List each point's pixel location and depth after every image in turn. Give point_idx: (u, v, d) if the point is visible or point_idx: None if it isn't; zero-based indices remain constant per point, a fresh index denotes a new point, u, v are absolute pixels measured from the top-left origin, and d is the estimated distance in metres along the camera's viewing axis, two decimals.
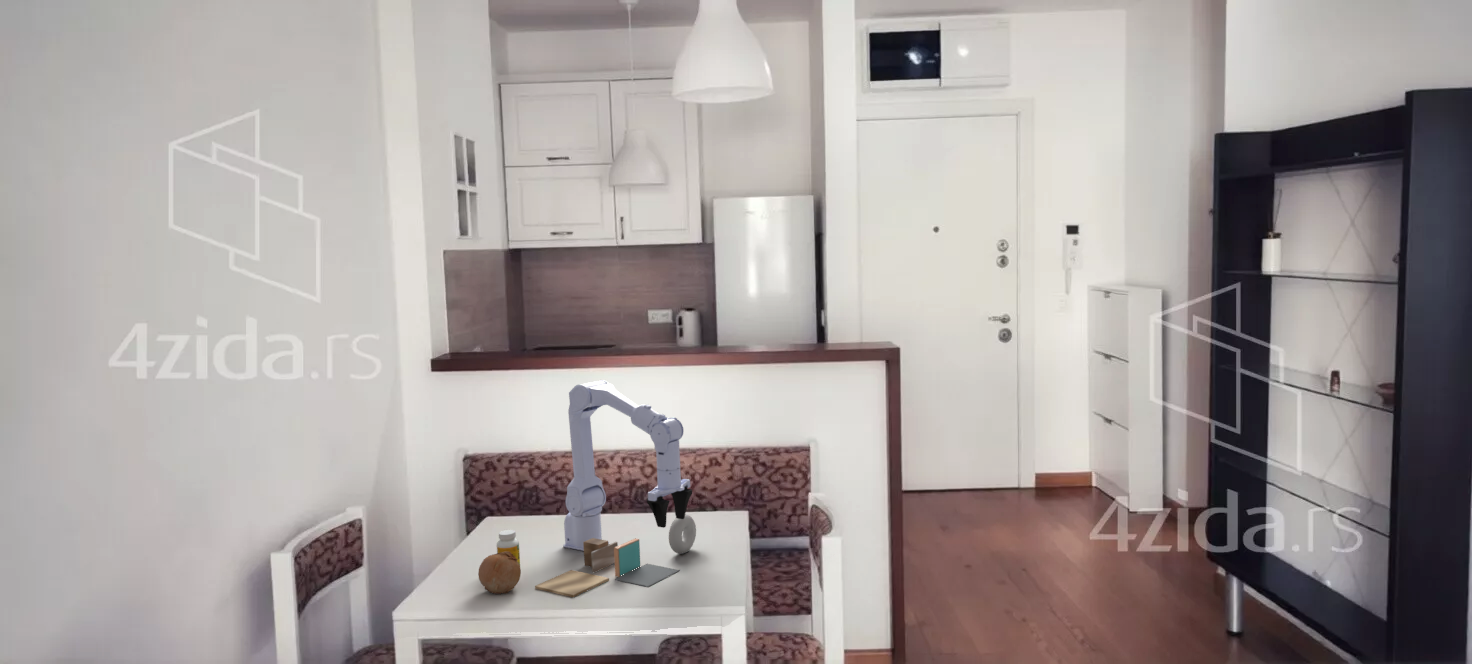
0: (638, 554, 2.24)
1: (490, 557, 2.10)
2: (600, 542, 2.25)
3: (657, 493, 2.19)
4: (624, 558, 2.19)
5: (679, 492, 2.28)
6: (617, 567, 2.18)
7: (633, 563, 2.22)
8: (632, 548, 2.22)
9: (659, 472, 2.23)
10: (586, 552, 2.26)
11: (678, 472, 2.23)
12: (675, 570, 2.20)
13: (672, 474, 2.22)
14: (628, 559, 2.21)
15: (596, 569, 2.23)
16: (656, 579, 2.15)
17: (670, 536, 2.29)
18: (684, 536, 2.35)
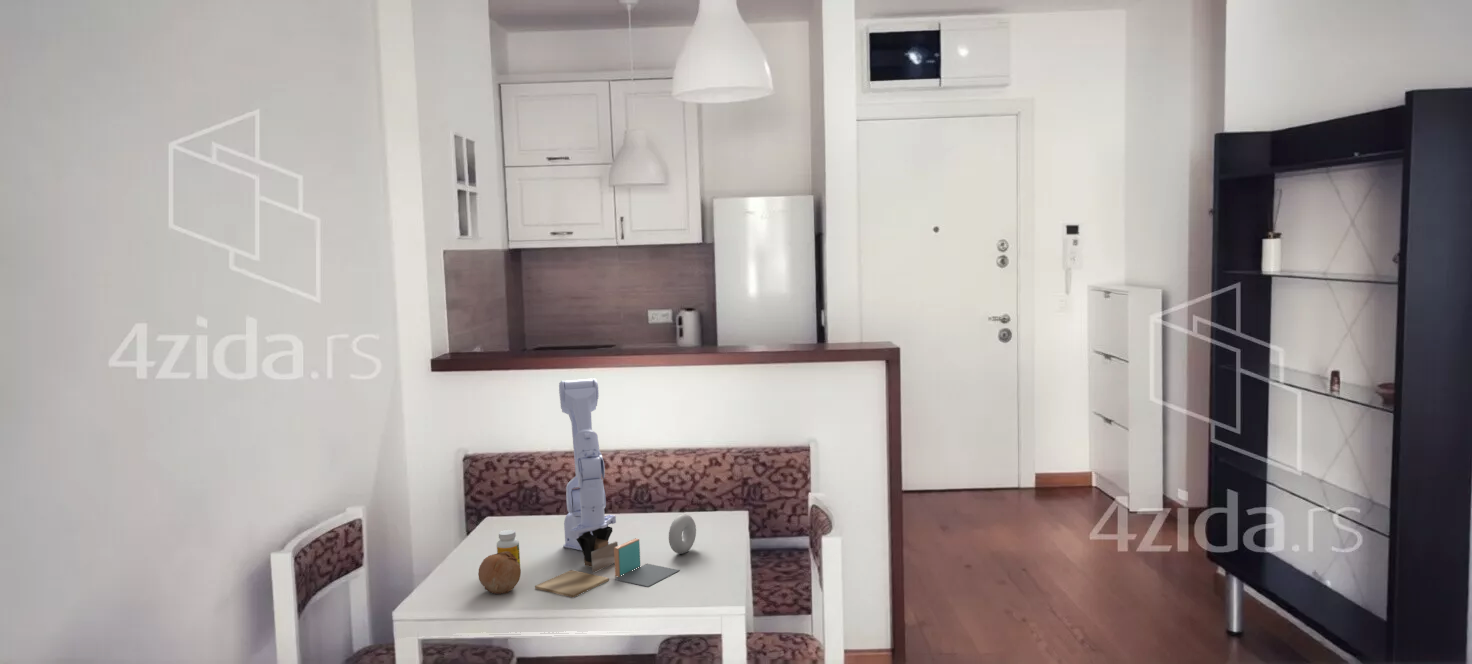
0: (638, 554, 2.24)
1: (490, 557, 2.10)
2: (600, 542, 2.25)
3: (579, 531, 2.21)
4: (624, 558, 2.19)
5: (599, 530, 2.28)
6: (617, 567, 2.18)
7: (633, 563, 2.22)
8: (632, 548, 2.22)
9: (582, 509, 2.24)
10: None
11: (601, 509, 2.25)
12: (675, 570, 2.20)
13: (594, 511, 2.24)
14: (628, 559, 2.21)
15: (596, 569, 2.22)
16: (656, 579, 2.15)
17: (670, 536, 2.29)
18: (684, 536, 2.35)
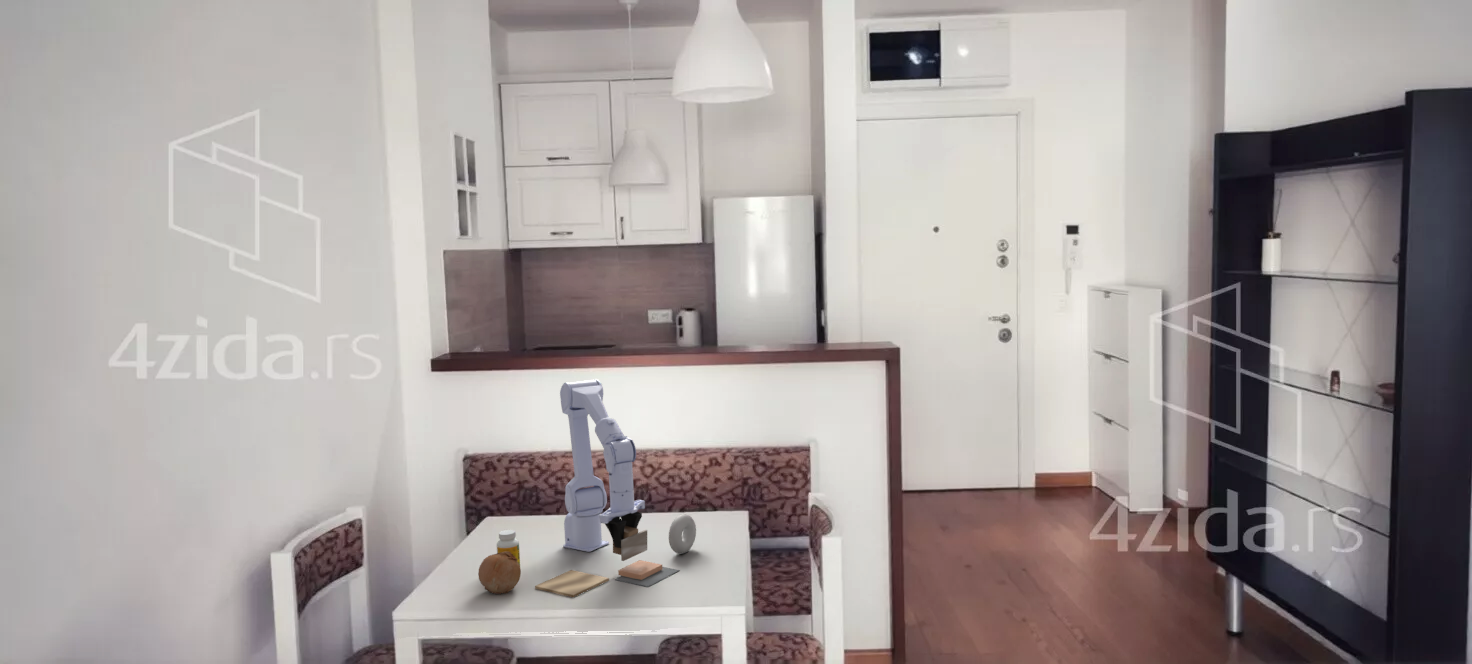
0: None
1: (490, 557, 2.10)
2: (630, 530, 2.20)
3: (609, 515, 2.15)
4: None
5: (628, 515, 2.23)
6: (625, 575, 2.17)
7: None
8: None
9: (611, 494, 2.19)
10: None
11: (631, 494, 2.19)
12: (675, 570, 2.20)
13: (624, 495, 2.18)
14: None
15: (625, 557, 2.17)
16: (656, 579, 2.15)
17: (670, 536, 2.29)
18: (684, 536, 2.35)
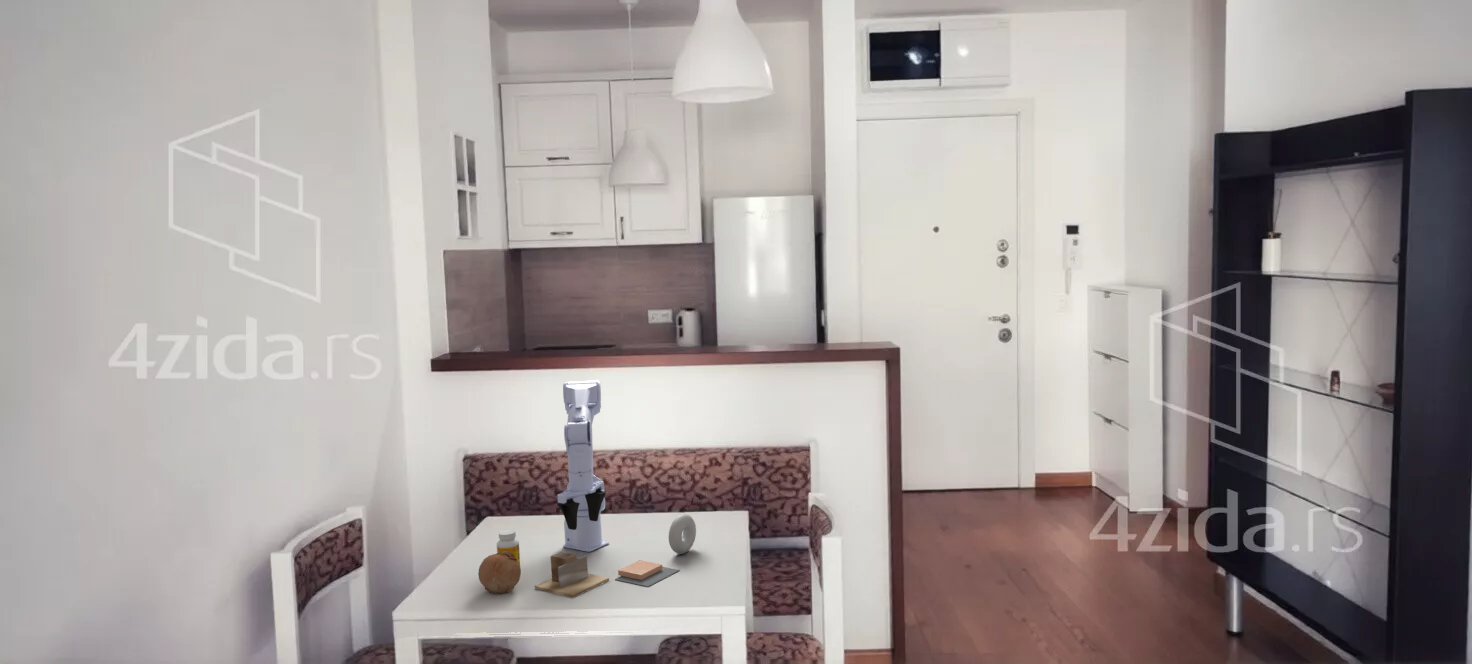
0: None
1: (490, 557, 2.10)
2: (568, 556, 2.14)
3: (567, 495, 2.19)
4: None
5: (592, 494, 2.28)
6: (625, 575, 2.17)
7: None
8: None
9: (570, 474, 2.23)
10: (553, 567, 2.15)
11: (589, 474, 2.23)
12: (675, 570, 2.20)
13: (582, 476, 2.22)
14: None
15: (563, 585, 2.11)
16: (656, 579, 2.15)
17: (670, 536, 2.29)
18: (684, 536, 2.35)
